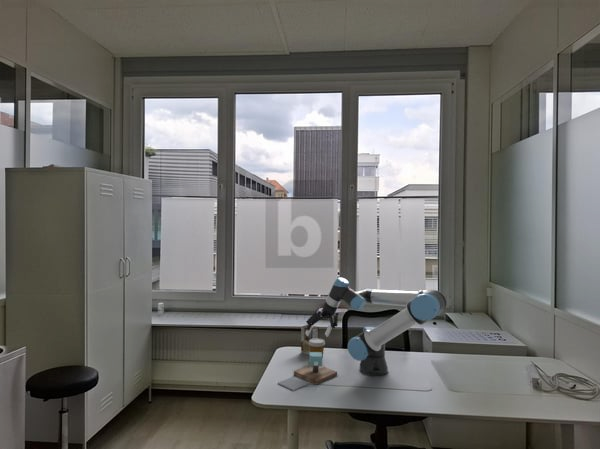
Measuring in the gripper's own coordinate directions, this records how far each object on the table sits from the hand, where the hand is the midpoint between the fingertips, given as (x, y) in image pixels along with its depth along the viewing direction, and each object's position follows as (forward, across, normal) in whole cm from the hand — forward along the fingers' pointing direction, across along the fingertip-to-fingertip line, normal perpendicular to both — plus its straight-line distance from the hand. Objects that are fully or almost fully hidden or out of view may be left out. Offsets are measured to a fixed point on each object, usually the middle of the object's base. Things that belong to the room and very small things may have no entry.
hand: (316, 335), depth 220 cm
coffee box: (+21, -10, -9) cm, 26 cm away
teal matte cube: (+6, +6, +16) cm, 18 cm away
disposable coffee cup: (+16, -6, +3) cm, 18 cm away
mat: (+12, +21, +23) cm, 33 cm away
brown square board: (+11, +6, +18) cm, 22 cm away
